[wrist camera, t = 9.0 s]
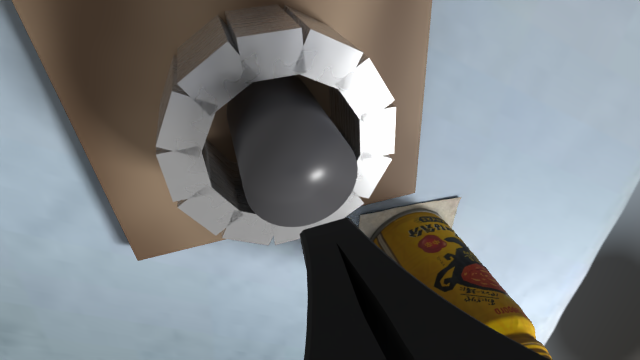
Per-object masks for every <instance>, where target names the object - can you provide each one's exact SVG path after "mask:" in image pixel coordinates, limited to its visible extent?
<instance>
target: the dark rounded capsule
mask: <svg viewBox="0 0 640 360" xmlns="http://www.w3.org/2000/svg"><path fill="white" fill-rule="evenodd" d="M227 120H228V124H229V128H230V133H231V137H232V141H233V146H234V150H235V154H236V159H237V163H238V167H239V171H240V176H241V180H242V184H243V189H244V193H245V197H246V200H247V202H248V204H249V206H250V207H251V209H252V210H253V211H254V212H255V213H256V215H258V216H259V217H260V218H262V219H263V220H265V221H267V222H269V223H271V224H274V225H278V226H283V227H301V226H306V225H310V224H313V223H316V222H319V221H321V220H323V219H325V218H327V217H328V216H330V215H331V214H333V213H334V212H335V211H337V210H338V209H339V208H340V207H341V206H342V205H343V204H344V203H345V201H346V200H347V199H348V197H349V196H350V194H351V193H352V191H353V189H354V186H355V183H356V179H357V172H358V167H357V161H356V157H355V154H354V152H353V150H352V149H351V147H350V146H349V144H348V143H347V142H346V140H345V139H344V137H343V136H342V135H341V133H340V132H339V131H338V129H337V128H336V126H335V125H334V124H333V122H332V121H331V120H330V118H329V117H328V115H327V114H326V113H325V111H324V110H323V109H322V107H321V106H320V104H319V103H318V102H317V100H316V99H315V98H314V96H313V95H312V93H311V92H310V91H309V89H308V88H307V87H306V85H305V84H304V83H303V82H302V80H300V79H299V78H298V77H297V76H295V75H291V76H286V77H280V78H274V79H268V80H262V81H257V82H252V83H251V84H250V85H248V86H247V87H246V88H245V89H243V90H242V91H241V92H240V93H238V94H237V95H236V96H235V97H233V98H232V99H231V100H230V101H229V102H227Z"/></svg>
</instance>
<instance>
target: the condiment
mask: <svg viewBox="0 0 640 360" xmlns="http://www.w3.org/2000/svg"><path fill="white" fill-rule="evenodd" d="M460 199H461V197H459V198H452V199H447V200H440V201H432V202H426V203H419V204H413V205H409V206H403V207H397V208H392V209H389V210H384V211H381V212H375V213H370V214H363V215H360V221H359V229H360V230H361V231H362V232H363V233H364V234H365V235H366V236H367V237H368V238H370V239H371V240H372V241H373V242H374V243H375V244H376V245H377V246H378V247H379V248H380V249H382V250H383V251H384V252H385V253H386V254H387V255H388V256H390V257H391V258H392V259H393V260H394V261H396V262H397V263H398V264H399V265H400V266H402V267H403V268H404V269H405V270H407V271H408V272H409V273H410V274H412V275H413V276H414V277H415V278H417V279H418V280H419V281H421V282H422V283H423V284H425V285H426V286H427V287H429V288H430V289H432V290H433V291H434V292H436V293H437V294H439V295H440V296H441V297H443V298H444V299H446V300H447V301H449V302H450V303H452V304H453V305H455V306H456V307H458V308H459V309H461V310H462V311H464V312H466V313H467V314H469V315H470V316H472V317H474V318H475V319H477V320H479V321H480V322H482V323H484V324H485V325H487V326H489V327H490V328H492V329H494V330H495V331H497V332H499V333H501V334H503V335H505V336H507V337H508V338H510V339H512V340H514V341H516V342H518V343H520V344H522V345H523V346H525V347H527V348H529V349H531V350H533V351H535V352H537V353H539V354H540V355H542V356H544V357H546V358H549V359H551V356H550V355H549V353H548V351H547V350H546V348H545V347H544V346H543V344H542V343H540V342H539V341H537V340H536V336H535V328H534V326H533V324H532V322H531V321H530V320H529V319H528V317H527V316H526V315H525V314H524V312H523V311H522V309H521V308H520V307H519V305H518V304H516V303H515V302H514V300H513V299H512V298H511V297H510V296H509V295H508V294H507V293H506V291H505V290H504V289H503V288H502V287H501V286H500V285H499V283H498V282H497V281H496V280H495V279H494V278H493V276H492V275H491V274H490V273H489V271H488V269H487V268H486V267H485V266H483V265H482V263H481V262H480V261H479V260H478V259H477V257H476V256H475V255H474V254H473V253H472V252H471V251H470V250H469V248H468V247H467V246H466V244H465V243H464V242H463V241H462V240H461V238H459V237H458V235H457V234H455V232H454V230H452V225H453V221H454V217H455V214H456V211H457V207H458V204H459V201H460ZM551 360H552V359H551Z"/></svg>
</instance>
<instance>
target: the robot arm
mask: <svg viewBox="0 0 640 360" xmlns="http://www.w3.org/2000/svg"><path fill="white" fill-rule="evenodd" d="M300 239H301V244H302V249H303V254H304V259H305V264H306V269H307V287H308V309H307V332H306V345H305V356H304V360H551V359H549V358H546V357H544V356H542V355H540V354H539V353H537V352H535V351H533V350H531V349H529V348H527V347H525V346H523V345H522V344H520V343H518V342H516V341H514V340H512V339H510V338H508V337H507V336H505V335H503V334H501V333H499V332H497V331H495V330H494V329H492V328H490V327H489V326H487V325H485V324H484V323H482V322H480V321H479V320H477V319H475V318H474V317H472V316H470V315H469V314H467V313H466V312H464V311H462V310H461V309H459V308H458V307H456V306H455V305H453V304H452V303H450V302H449V301H447V300H446V299H444V298H443V297H441V296H440V295H439V294H437V293H436V292H434V291H433V290H432V289H430V288H429V287H427V286H426V285H425V284H423V283H422V282H421V281H419V280H418V279H417V278H415V277H414V276H413V275H412V274H410V273H409V272H408V271H407V270H405V269H404V268H403V267H402V266H400V265H399V264H398V263H397V262H396V261H394V260H393V259H392V258H391V257H390V256H388V255H387V254H386V253H385V252H384V251H383V250H382V249H380V248H379V247H378V246H377V245H376V244H375V243H374V242H373V241H372V240H371V239H370V238H368V237H367V236H366V235H365V234H364V233H363V232H362V231H361V230H360V229H359V228H358V227H357V226H356V225H355V224H354V223H353V222H352V221H351V220H350V219H349V218H347V217H346V218H343V219H339V220H336V221H332V222H329V223H325V224H322V225H319V226H315V227H312V228H308V229H305V230H303V231H302V232H301V233H300Z"/></svg>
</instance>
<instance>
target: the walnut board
mask: <svg viewBox="0 0 640 360" xmlns="http://www.w3.org/2000/svg"><path fill="white" fill-rule="evenodd" d="M12 2H13V4H14V6H15V8H16V10H17V13H18V15H19V17H20V19H21V21H22V23H23V25H24V27H25V29H26V31H27V33H28V35H29V37H30V39H31V41H32V43H33V46H34V48H35V50H36V52H37V54H38V56H39V58H40V60H41V62H42V64H43V66H44V68H45V70H46V72H47V74H48V76H49V79H50V81H51V83H52V85H53V87H54V89H55V91H56V93H57V95H58V97H59V99H60V101H61V103H62V105H63V107H64V110H65V112H66V114H67V116H68V118H69V120H70V122H71V124H72V126H73V128H74V130H75V132H76V134H77V136H78V138H79V140H80V143H81V145H82V147H83V149H84V151H85V153H86V155H87V157H88V159H89V161H90V163H91V165H92V167H93V169H94V171H95V173H96V176H97V178H98V180H99V182H100V184H101V186H102V188H103V190H104V192H105V194H106V196H107V198H108V200H109V202H110V204H111V207H112V209H113V211H114V213H115V215H116V217H117V219H118V221H119V223H120V225H121V227H122V229H123V231H124V233H125V235H126V237H127V240H128V242H129V244H130V246H131V248H132V250H133V252H134V254H135V256H136V258H137V260H138V261H139V260H143V259H147V258H151V257H155V256H160V255H164V254H168V253H172V252H176V251H180V250H184V249H188V248H192V247H196V246H200V245H204V244H208V243H212V242H217V241H221V240H225V239H224V238H222V234H221V232H220V233H219V234H217V235H214V234H213V233H211V232H210V231H209V230H207V229H206V228H205V227H203V226H202V225H201V224H199V223H198V222H196V221H195V220H194V219H192V218H191V217H190V216H188V215H187V214H186V213H184V212H183V211H181V210H180V209H179V208H177V201H175V202H173V200H172V198H171V195H170V192H169V189H168V187H167V184H166V181H165V178H164V176H163V173H162V170H161V167H160V165H159V162H158V159H157V156H156V137H157V127H158V117H159V107H160V100H161V97H162V93H163V90H164V86H165V83H166V79H167V76H168V72H169V69H170V65H171V62H172V58H173V55H176V56H177V48H179V47H180V46H181V45H182V44H183V43H185V42H186V41H187V40H188V39H189V38H190V37H192V36H193V35H194V34H195V33H196V32H198V31H199V30H200V29H201V28H202V27H203V26H205V25H206V24H207V23H208V22H209V21H210V20H212V19H213V18H214V17H215V16H216V15H219V17H220V18H221V19H222V20H223V21H224V23H225V24H226V25H227V20H226V15H225V11H230V10H238V9H245V8H252V7H260V6H267V5H274V4H278V5H279V6H280V7H281V8H282V9H283V8H284V5H285V6H287V7H290V8H292V9H294V10H296V11H298V12H300V13H303V14H305V15H307V16H309V17H311V18H313V19H316V20H318V21H320V22H322V23H324V24H326V25H328V26H330V27H331V28H333V29H334V30H335V31H336V32H338V33H339V34H340V35H342V36H343V37H344V38H345V39H347V40H348V41H349V42H350V43H352V44H353V45H354V46H356V47H357V48H358V49H359V50H361V51H362V52H363V53H364V54H365V55H366V56H368V57H369V58H370V60H371V62H372V63H373V65H374V67H375V68H376V70H377V72H378V73H379V75H380V77H381V78H382V80H383V82H384V83H385V85H386V87H387V89H388V90H389V92H390V94H391V95H392V97H393V99H394V101H393V102H392V104H393V105H395V106H396V119H395V141H394V153H391V154H388V155H389V156H390V157H391V159H392V160H391V162H390V163H389V165H388V167H387V168H386V170H385V172H384V174H383V175H382V177H381V179H380V180H379V182H378V184H377V185H376V187H375V189H374V190H373V192H372V194H371V195H370V197H369V199H368V198H364V197H361V199H362V201H363V202H364V204H363V205H367V204H371V203H375V202H379V201H383V200H387V199H392V198H396V197H400V196H404V195H408V194H412V193H415V188H416V177H417V165H418V154H419V143H420V131H421V120H422V109H423V98H424V86H425V75H426V64H427V52H428V41H429V30H430V19H431V7H432V0H12ZM227 26H228V25H227ZM295 76H297V77H298V78H299V79H300V80H302V82H303V83H304V84H305V85H306V87H307V88H308V89H309V91H310V92H311V93H312V95H313V96H314V98H315V99H316V100H317V102H318V103H319V104H320V106H321V107H322V109H323V110H324V111H325V113H326V114H327V115H328V117H330V115H331V112H330V95H329V85H326V84H323V83H321V82H318V81H315V80H313V79H310V78H308V77H305V76H302V75H300V74H297V75H295ZM206 140H208V141H209V142H210V143H211V144H212V145H213V146H214V147H215V148H216V149H217V150H218V151H219V152H221V153H222V154H223V155H224V156H225V157H226V158H227V159H228V160H229V161H231V162H235V163H237V159H236V154H235V150H234V146H233V141H232V137H231V133H230V128H229V124H228V120H227V103H226V104H225V105H224V106H222V107H221V108H220V109H219V110H217V111H216V113H215V115H214V118H213V121H212V124H211V127H210V129H209V132H208V135H207V138H206ZM363 205H361V206H363Z"/></svg>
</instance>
